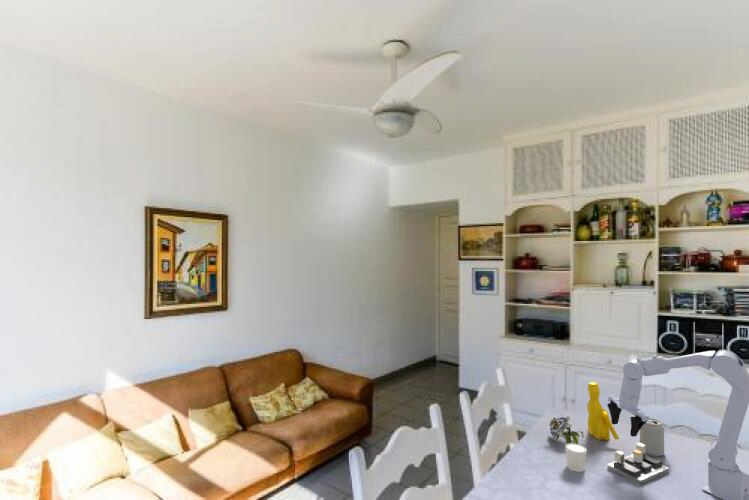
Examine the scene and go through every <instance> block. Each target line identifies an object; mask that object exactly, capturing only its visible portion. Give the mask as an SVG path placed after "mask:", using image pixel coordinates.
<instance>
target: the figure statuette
mask: <svg viewBox="0 0 749 500" xmlns="http://www.w3.org/2000/svg"><path fill="white" fill-rule="evenodd" d="M587 385H588V386H587V391H588V394H589V400H588V403H586V404H587V408H586V409H587V413H588V418H587V429H588V433H589V434H590V435H591V436H592V437H594V438H596V439H597V440H598V441H602V440H605V441H606V440H607V441H609V440H610V432H611V435H612V436H613V439H614V440H619V439H620V437H619V435H618V433H617V431H616V429H615V428H614V426H613V424H612V421H611V419H610V416H609V413H608V412H607V411H606V409H604V407H602V404H601V402H600V399H599V398H600V394H601V393H600V388H599V385H598V383H596V382H589V383H588V384H587Z"/></svg>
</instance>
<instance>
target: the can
mask: <svg viewBox="0 0 749 500" xmlns="http://www.w3.org/2000/svg"><path fill="white" fill-rule="evenodd" d="M662 423H663V422H662V421H660V420H658V419H656V418H653V417H649V420H648V421H647V422H646V423H645V424H644V425H643V426H642V427H641V429H640V430H639V443H641V444H644V445H645V450H646V454H647V455H649V456H652V457H661V456H663V455H665V426H663V424H662Z"/></svg>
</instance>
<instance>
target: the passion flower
mask: <svg viewBox="0 0 749 500" xmlns="http://www.w3.org/2000/svg"><path fill="white" fill-rule="evenodd" d="M569 421H570V416H566V417H562V416H561V417H558V418H557V417H553V418H552V419H551V420H550V421H549V427H550V428H549V430H550V434H551V436H552V438H551V441H555V442H556V441H558V440H559V438H560V437H561V438H562V437H564V439H565V442H566V444H570V443H573V444H579V438H580V437H581V438H582V439H584V438H585V437H584V431H580V433H581V435H580V434H579V432H578V431H574V430H572V429H571V428H572V424H571V423H569Z"/></svg>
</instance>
